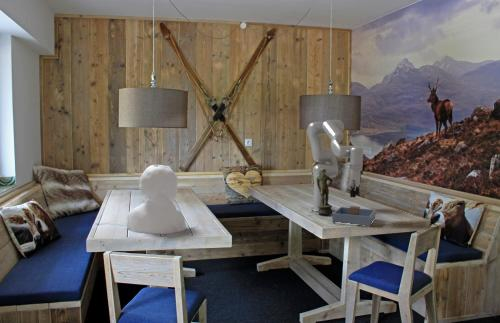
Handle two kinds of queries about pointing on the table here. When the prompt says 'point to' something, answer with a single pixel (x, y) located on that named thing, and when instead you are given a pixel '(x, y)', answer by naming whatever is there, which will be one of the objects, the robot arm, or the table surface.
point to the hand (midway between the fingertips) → (354, 195)
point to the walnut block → (354, 210)
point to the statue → (324, 192)
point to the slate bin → (354, 216)
